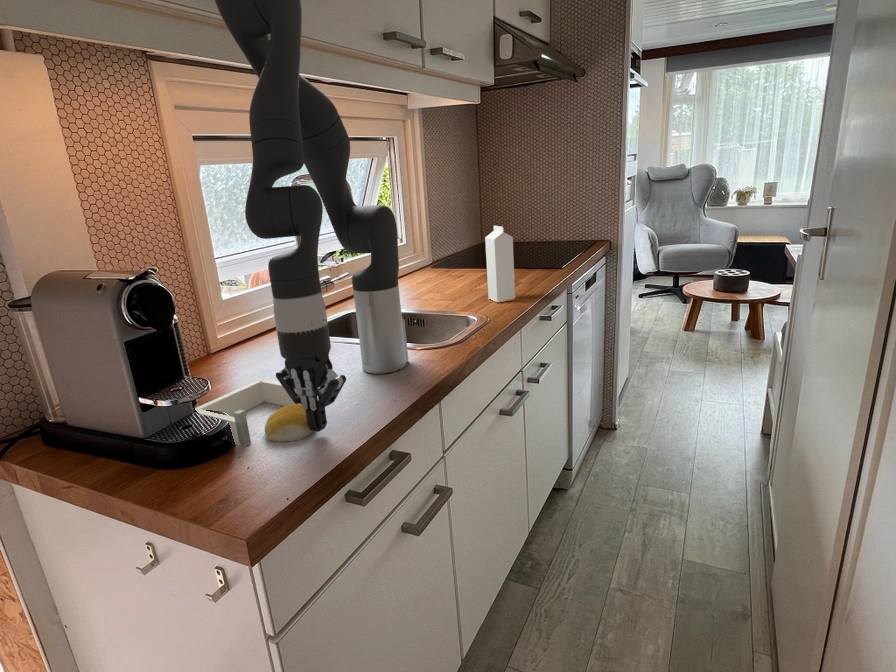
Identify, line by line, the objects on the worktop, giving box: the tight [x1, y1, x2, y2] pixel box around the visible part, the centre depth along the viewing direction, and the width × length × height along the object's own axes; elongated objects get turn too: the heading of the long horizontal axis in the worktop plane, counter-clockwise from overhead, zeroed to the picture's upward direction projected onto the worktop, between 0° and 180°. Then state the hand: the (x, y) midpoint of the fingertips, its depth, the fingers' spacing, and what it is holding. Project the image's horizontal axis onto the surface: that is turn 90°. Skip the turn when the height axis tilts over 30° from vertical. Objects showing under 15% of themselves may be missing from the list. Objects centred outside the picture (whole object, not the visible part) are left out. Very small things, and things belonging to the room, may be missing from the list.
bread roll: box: [264, 404, 314, 443], centre depth 92 cm, size 8×9×4 cm
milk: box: [484, 225, 516, 302], centre depth 165 cm, size 6×6×22 cm
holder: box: [194, 378, 301, 447], centre depth 96 cm, size 15×13×6 cm
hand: (318, 429), depth 89 cm, fingers closed
